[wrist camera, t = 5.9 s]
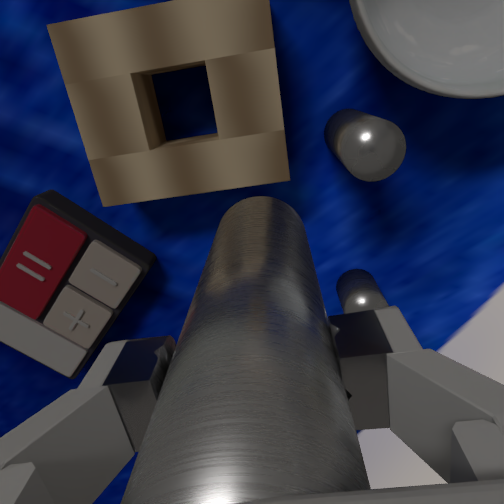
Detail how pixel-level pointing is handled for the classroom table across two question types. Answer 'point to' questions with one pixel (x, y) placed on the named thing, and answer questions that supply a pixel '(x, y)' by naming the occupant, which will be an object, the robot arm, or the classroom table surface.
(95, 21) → the block
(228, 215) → the long pin
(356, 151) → the medium pin
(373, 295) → the short pin
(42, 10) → the classroom table surface
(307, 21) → the classroom table surface
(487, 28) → the cereal bowl
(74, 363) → the calculator
